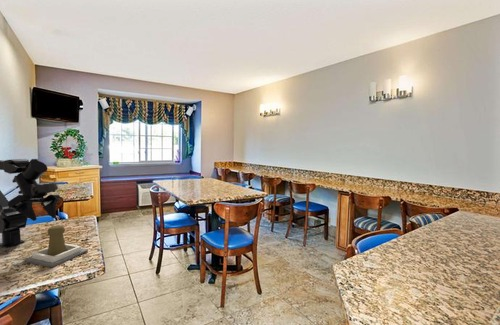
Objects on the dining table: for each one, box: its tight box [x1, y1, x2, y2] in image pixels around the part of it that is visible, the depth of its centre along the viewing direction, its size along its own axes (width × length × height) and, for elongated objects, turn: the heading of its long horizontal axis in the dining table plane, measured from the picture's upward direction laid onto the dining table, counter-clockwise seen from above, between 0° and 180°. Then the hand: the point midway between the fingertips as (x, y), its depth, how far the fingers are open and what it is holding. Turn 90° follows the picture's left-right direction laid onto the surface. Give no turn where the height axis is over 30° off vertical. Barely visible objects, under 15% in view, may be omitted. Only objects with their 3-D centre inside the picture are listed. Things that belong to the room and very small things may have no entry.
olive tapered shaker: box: [47, 224, 66, 256], centre depth 99 cm, size 6×6×11 cm
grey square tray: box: [23, 242, 88, 268], centre depth 99 cm, size 14×14×3 cm
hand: (45, 219), depth 102 cm, fingers open, 9 cm apart
